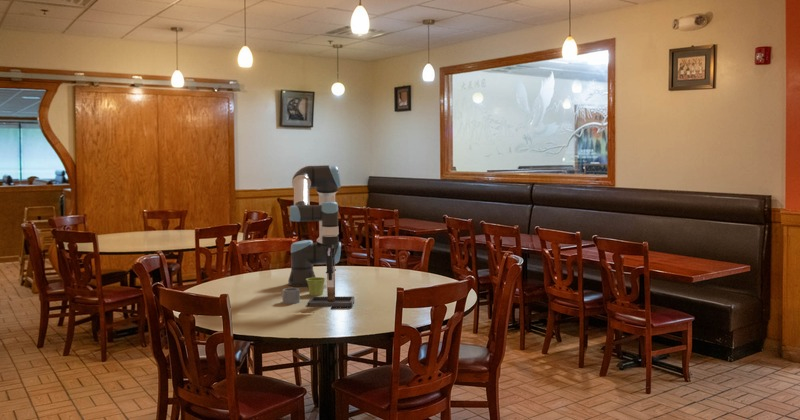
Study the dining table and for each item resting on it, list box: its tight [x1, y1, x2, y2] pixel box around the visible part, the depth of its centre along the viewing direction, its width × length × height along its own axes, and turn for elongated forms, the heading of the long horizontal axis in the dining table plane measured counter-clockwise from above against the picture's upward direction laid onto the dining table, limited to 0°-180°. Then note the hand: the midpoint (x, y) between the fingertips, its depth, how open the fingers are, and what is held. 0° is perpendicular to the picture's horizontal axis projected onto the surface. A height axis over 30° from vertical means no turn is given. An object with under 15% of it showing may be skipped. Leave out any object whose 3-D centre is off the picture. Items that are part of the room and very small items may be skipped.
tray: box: [307, 295, 355, 309], centre depth 312 cm, size 14×20×2 cm
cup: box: [281, 287, 301, 305], centre depth 314 cm, size 8×8×7 cm
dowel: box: [326, 266, 336, 302], centre depth 311 cm, size 4×4×16 cm
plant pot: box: [306, 276, 326, 297], centre depth 332 cm, size 9×9×9 cm
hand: (331, 286), depth 311 cm, fingers closed on dowel, 3 cm apart
